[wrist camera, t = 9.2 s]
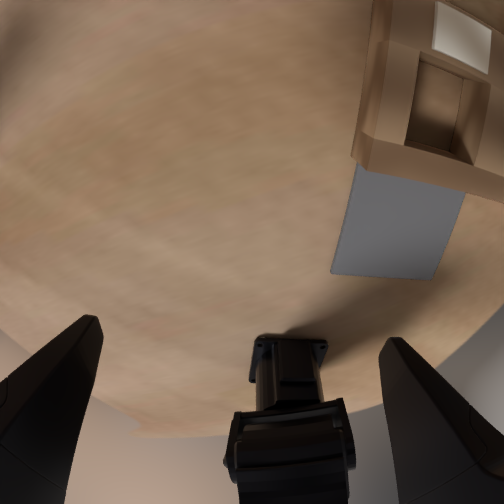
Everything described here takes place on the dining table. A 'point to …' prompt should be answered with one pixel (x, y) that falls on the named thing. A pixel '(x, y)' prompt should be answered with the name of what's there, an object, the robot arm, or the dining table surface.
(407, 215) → the pad
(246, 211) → the dining table surface
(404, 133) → the socket block
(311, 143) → the dining table surface
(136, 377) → the dining table surface
